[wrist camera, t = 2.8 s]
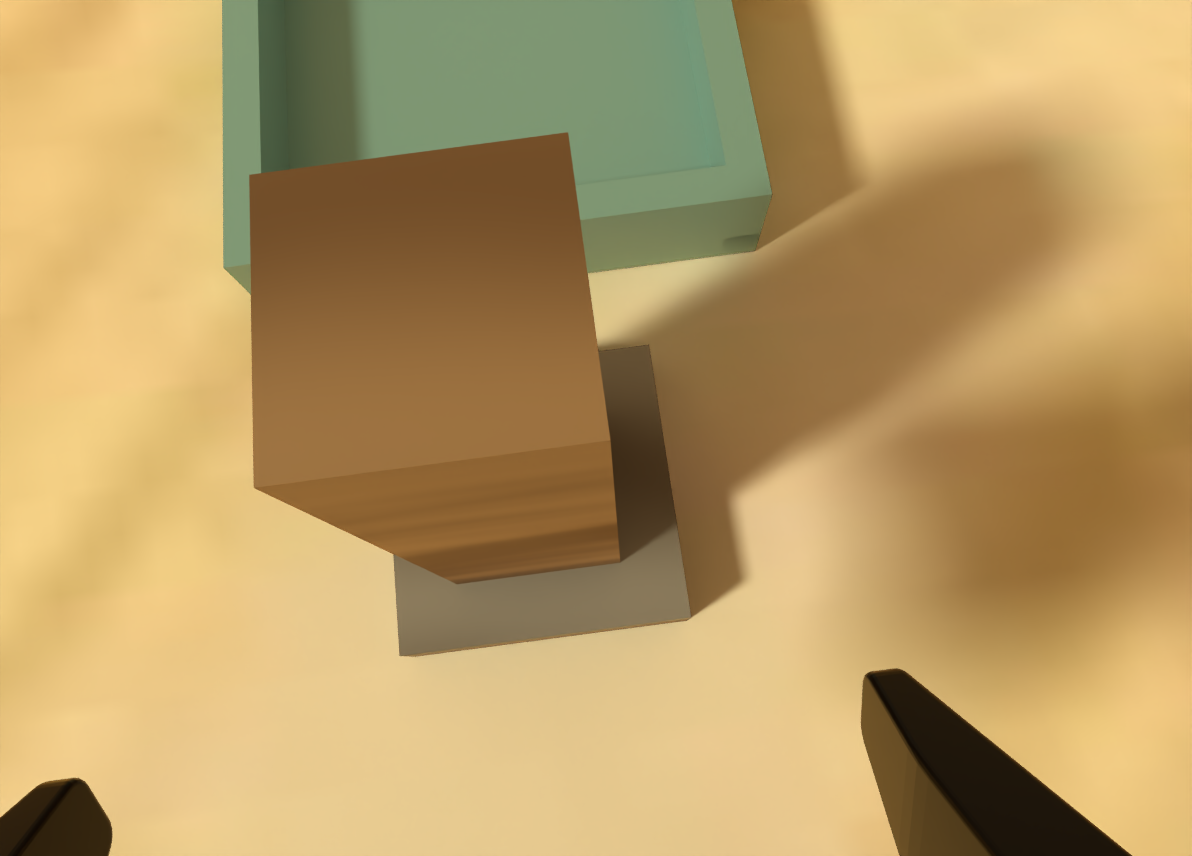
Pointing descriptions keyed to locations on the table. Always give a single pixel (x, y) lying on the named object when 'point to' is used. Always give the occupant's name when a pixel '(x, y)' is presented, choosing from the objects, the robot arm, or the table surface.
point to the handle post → (460, 394)
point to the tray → (509, 107)
